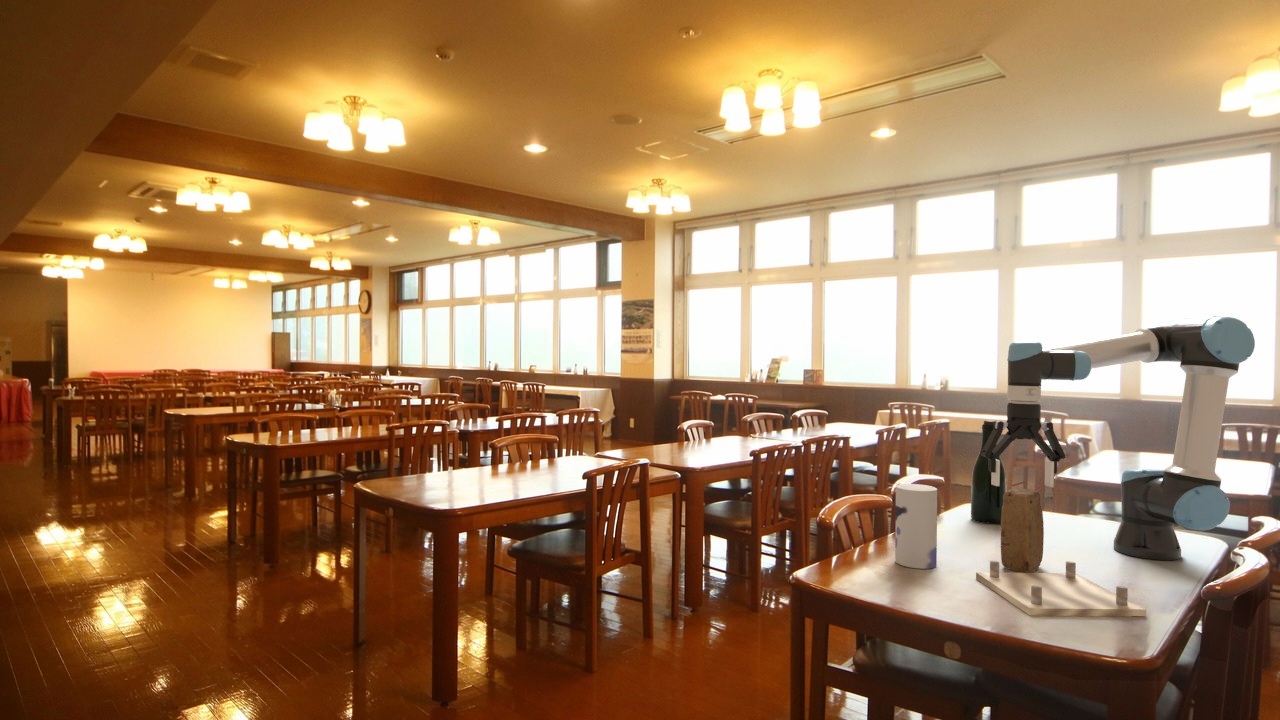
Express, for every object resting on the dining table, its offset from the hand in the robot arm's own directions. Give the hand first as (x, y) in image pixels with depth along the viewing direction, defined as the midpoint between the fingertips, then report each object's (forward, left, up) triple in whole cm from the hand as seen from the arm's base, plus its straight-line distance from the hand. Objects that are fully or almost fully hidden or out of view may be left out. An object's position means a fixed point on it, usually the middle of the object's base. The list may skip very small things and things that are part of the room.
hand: (1022, 485), depth 178 cm
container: (+26, -3, -21) cm, 33 cm away
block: (0, 0, -21) cm, 21 cm away
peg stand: (+4, +21, -21) cm, 30 cm away
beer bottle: (-16, -51, -21) cm, 58 cm away
